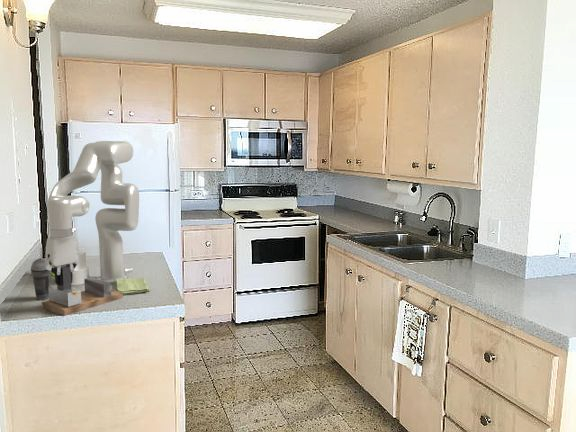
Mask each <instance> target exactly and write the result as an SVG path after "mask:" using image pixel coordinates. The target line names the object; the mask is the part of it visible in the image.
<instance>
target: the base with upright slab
mask: <svg viewBox="0 0 576 432" xmlns="http://www.w3.org/2000/svg"><path fill="white" fill-rule="evenodd" d="M78 257H79V259H80V260H81V262H80V263H79V264H78V265H77V266H76V267H75V268H74V271H73V272H72V275H73V280H72V283H71V286H74V285H75V286H77V285H82V284H83V285H85V282H84V279H87V278H90V271H89V270H90V268H89V266H88V265H87V255H86V252H85V251H84V252H82V251H81V252H80V251H78Z"/></svg>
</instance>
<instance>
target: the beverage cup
mask: <svg viewBox="0 0 576 432" xmlns="http://www.w3.org/2000/svg"><path fill="white" fill-rule="evenodd" d="M45 265H46V258H43V247H40V258H37V259H35V260H34V261H32V264H31V266H30V272H31V275H32V276H31V277H32V281H33V286H34V292H35V297H36V300H37V301H47V300H49V288H48V287H51V281H52V280H51V279H52V276H51V271H49V270H46V269H44V267H45Z"/></svg>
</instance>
